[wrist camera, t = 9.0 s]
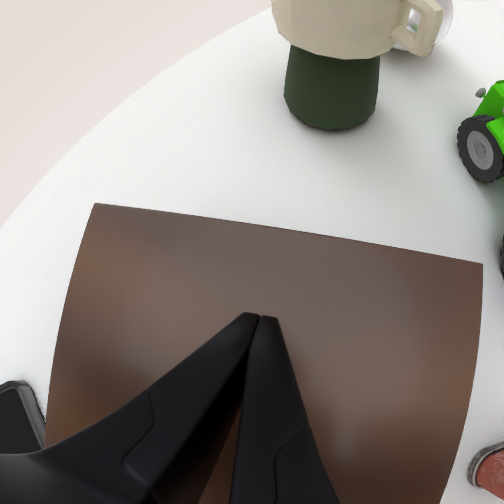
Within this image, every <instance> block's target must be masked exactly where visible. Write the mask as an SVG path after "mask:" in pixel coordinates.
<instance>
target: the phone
mask: <svg viewBox="0 0 504 504" xmlns="http://www.w3.org/2000/svg"><path fill="white" fill-rule="evenodd" d="M44 441H45V424H44V421H43V419H42V417H41V414H40V411H39V409H38V406H37V404H36V401H35V398H34V395H33V393H32V391H31V388H30V387H29V386H28V384H27V383H25V382H24V381H8V382H6V383H4V384H2V385H0V454H26V453H32V452H36V451H40V450H43V449H44Z"/></svg>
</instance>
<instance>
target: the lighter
mask: <svg viewBox="0 0 504 504" xmlns="http://www.w3.org/2000/svg"><path fill="white" fill-rule="evenodd" d="M467 480H468V481H469V483H470V484H472V485H473V486H475V487H477V488H479V489H486V490H487V491H489V492H491V493H492V494H494V495H496V496H497V497H499V498H501V499H502V500H504V441H502V442H500V443H497V444H494V445H492V446H489V447H486V448H484V449H482V450H480V451H479V452H478V453H477V454H476V455H475V456H474V458H473V459H472V461H471V463H470V465H469V467H468V471H467Z"/></svg>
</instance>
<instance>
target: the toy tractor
mask: <svg viewBox="0 0 504 504" xmlns="http://www.w3.org/2000/svg"><path fill="white" fill-rule="evenodd" d="M485 94H486V90H485V88H481V89H480V90H478V91H477V92H476V96H477V97H479V98H481V97H483V98H484V99H483V101H482V103H481V104H480V106H479V107H478V109H477V110H476V112H475V114H474V115H473V117H470V118H467V119H466V120H464V121H462V123H461V126H459V128H458V131H459V132H458V134H457V139H458V143H457V145H458V148H459V151H460V152H459V154H460V157H462V160H463V163H464V165H465V166H466V167H467V168H468V171H469V172H470V174H471V173H472V174H473V175H474V177H475V178H476V179H480V181H481V182H486V181H487V183H490V182H492V181H495V180H497V179H499V178H501V177H503V176H504V80H500V81H496V83H495V84H494V85H492V87H491V88H490V90H489V91H488V93H487V95H486V96H485ZM502 242H503V246H502V248H500V256H501V257H502V263H501V270H502V272H503V273H504V236H503V239H502Z"/></svg>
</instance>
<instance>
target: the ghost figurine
mask: <svg viewBox="0 0 504 504" xmlns="http://www.w3.org/2000/svg"><path fill="white" fill-rule="evenodd" d="M434 1H436V2H437V3H438V4H439V5H440V6H441V7H442V8H443V21H442V24H441V27H440V29H439V32H438V35H437V38H436V41H435V43H434V45H435V44H437V43H438V42H440V41H441V40H442V39H443V38H444V37H445V35H446V34H447V33H448V31H449V29H450V27H451V24H452V20H453V5H452V0H434ZM420 20H421V14H420V13H419V12H418V11H416V10H414V9H413V8H411V12H410V16H409V20H408V23H407V27H406V29H408V30H410V31H411V32H413V33H414V34H416V33H417V30H418V26H419V23H420ZM392 48H395V49H399V50H405V51H408V50H407V49H405V48H404V47H402V46H401V45H399V44H398V43H396V44H395V45H394V46H393V47H392Z"/></svg>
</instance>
